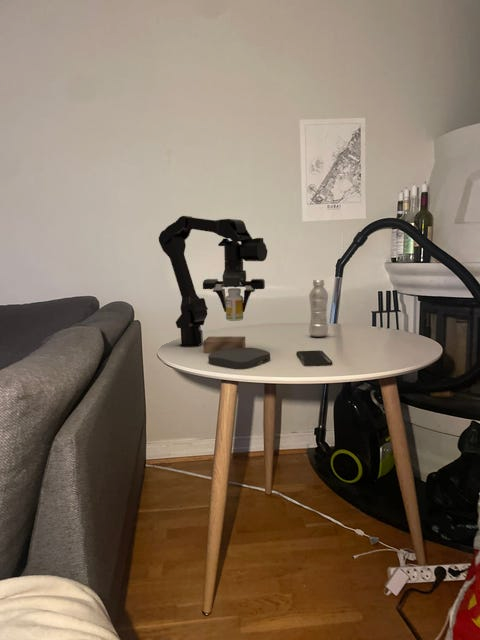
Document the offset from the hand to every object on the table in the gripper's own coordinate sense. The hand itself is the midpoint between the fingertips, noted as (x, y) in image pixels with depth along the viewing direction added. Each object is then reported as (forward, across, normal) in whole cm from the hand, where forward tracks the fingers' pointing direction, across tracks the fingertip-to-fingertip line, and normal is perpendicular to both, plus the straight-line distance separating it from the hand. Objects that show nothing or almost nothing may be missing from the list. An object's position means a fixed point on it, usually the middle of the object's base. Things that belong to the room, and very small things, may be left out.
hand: (234, 311), depth 134 cm
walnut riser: (+12, -3, -1) cm, 12 cm away
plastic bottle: (+12, +27, +20) cm, 36 cm away
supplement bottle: (+3, 0, 0) cm, 3 cm away
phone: (+12, +24, -13) cm, 30 cm away
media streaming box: (+12, +3, -15) cm, 19 cm away
